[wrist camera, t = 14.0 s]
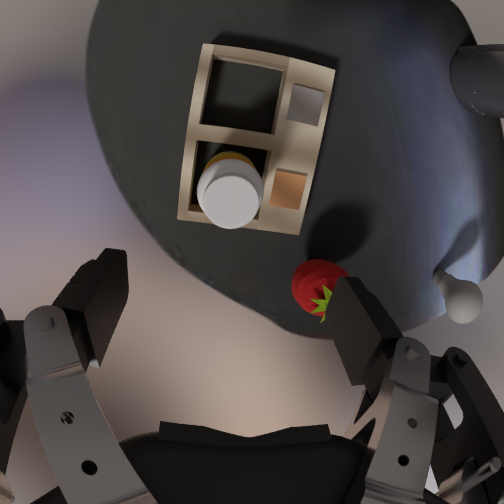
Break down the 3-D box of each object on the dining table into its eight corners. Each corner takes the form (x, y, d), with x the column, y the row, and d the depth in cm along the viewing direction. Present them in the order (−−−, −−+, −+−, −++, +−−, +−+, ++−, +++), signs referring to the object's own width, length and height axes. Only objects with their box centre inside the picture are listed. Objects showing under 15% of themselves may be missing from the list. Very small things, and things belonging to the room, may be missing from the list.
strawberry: (300, 230, 31) (328, 277, 22) (346, 258, 33) (382, 306, 25) (272, 270, 33) (288, 326, 24) (319, 293, 36) (344, 347, 27)
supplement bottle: (197, 157, 27) (183, 175, 18) (250, 145, 26) (261, 157, 18) (210, 205, 29) (203, 245, 20) (260, 194, 29) (275, 229, 20)
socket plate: (205, 49, 21) (202, 42, 19) (326, 73, 23) (336, 69, 21) (181, 211, 29) (176, 220, 26) (293, 226, 31) (299, 236, 28)
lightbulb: (441, 249, 34) (486, 288, 25) (453, 269, 37) (493, 307, 27) (415, 278, 36) (456, 323, 27) (429, 295, 38) (465, 337, 29)
